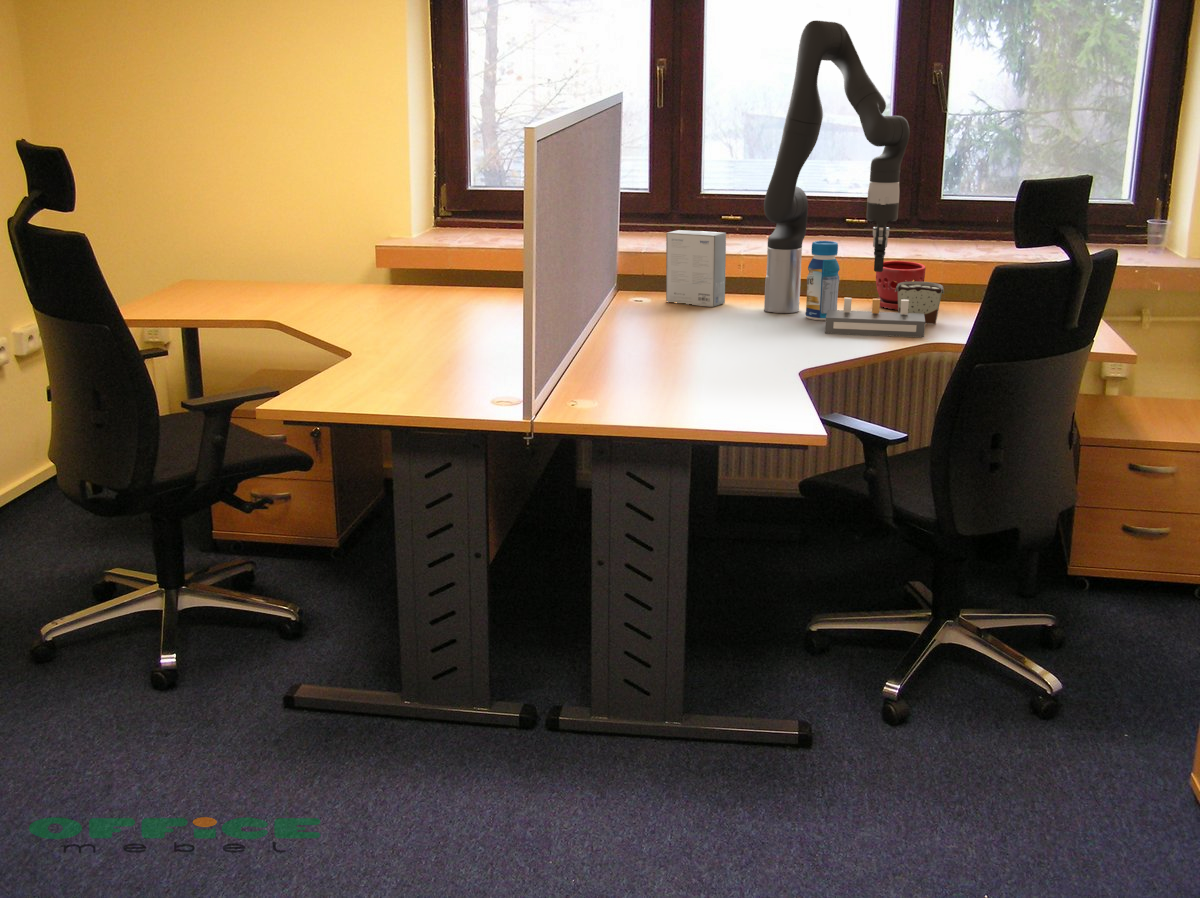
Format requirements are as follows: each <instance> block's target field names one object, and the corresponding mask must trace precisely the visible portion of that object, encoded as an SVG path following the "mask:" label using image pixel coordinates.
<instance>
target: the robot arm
mask: <svg viewBox="0 0 1200 898" xmlns="http://www.w3.org/2000/svg"><path fill="white" fill-rule="evenodd" d="M822 61H831V62H832V63H833V64H834V65H835V66H836V67H837V69H838V70H840V72H841V74H842V77H843V78H842V79H843V87H844V88H843V89H844V93H845V96H846V98H847V101H849V104H850V105H851V106H852V107H853V109H854V111H855V112H856V114H857V115H858V118H859V121H860V124H861V128H862V131H863V133H864V137H865V138H866V140H867V142H869V143H870V144H871V145H872V146H875V147H878V148H879V147H883V150H882V153H881V154H880V155H879V156H876V157H874V158H872V160H871V163H870V169H869V170H870V171H869V172H870V174H869V184H868V189H867V198H866V199H867V201H866V202H867V203H866V216H865V217H866V220H867V221H870V222H875V223H876V226H872V236H873V240H872V247H873V248H874V249H873V250H874V252H873V256H874V263H873V264H874V265H873V271H874V272H875V273H876V272H882V271H883V262H885V261H884V259H885V256H886V248H887V247H888V240H889V239H888V238H889V237H890V227H887V223H888V222H896V221H898V218H899V206H900V176H901V174H900V173H901V164H902V161H903V158H904V156H905V153H906V149H907V146H908V143H909V139H910V135H911V134H910V133H911V131H910V126H909V121H908V120H907V119H906V118H905V117H904V116H902V115H883V113H884V112H885V110H886V108H887V103H886V99H885V98H884V96H883V95H882V94H881V92H880V90H879V89H878V88H877V86H876V85H875V83H874V82H873V81H872V79H871V78H870V76H869V74H868V73H867V71H866V69H865V67H864V65H863V63H862V60H861V59H860V56H859V53H858V52H857V49H856V48H855V45H854V43H853V41H852V38H851V36H850V33H849V32H848V31H847V29H846V28H845V26H844V25H842V23H839V22H835V21H826V20H825V21H824V20H811V21H809V22H808V23H807V24H806V25H805V26H804V29H803V30H802V33H801V35H800V39H799V43H798V50H797V58H796V66H795V73H794V75H795V76H794V79H793V85H792V90H791V95H790V99H789V103H788V104H789V105H788V109H787V112H786V117H785V121H784V124H783V131H782V135H781V140H780V144H779V148H778V153H777V157H776V160H775V165H774V168H773V172H772V175H771V178H770V180H769V181H770V182H769V184H768V187H767V190H766V194H765V196H764V201H763V211H764V214H765V217H766V218H767V220H769V221H770V222H771V223H774V224H776V226H775V227H774V230H773V232H772V233H771V234H770V235H769V236H768V238H767V251H766V252H767V254H766V255H767V257H766V276H765V280H764V281H765V283H764V301H763V302H764V304H763V305H764V307H763V309H764V310H763V312H770V313H775V314H776V313H777V314H792V313H797V312H799V310H800V297H801V296H800V295H801V280H802V279H801V276H802V257H803V256H802V254H803V253H802V252H803V241H804V240H805V237H806V233H807V224H808V223H807V222H808V211H809V204H808V203H809V202H808V197H807V195H806V193H805V191H804V190H803V189H802V188H800V187H799V186H797V182H798V178H799V175H800V173H801V170H802V169H803V167H804V166H805V163H806V162H807V160H808V159H809V157H810V155H811V153H812V152H813V150H814V148H815V146H816V144H817V141H818V140H819V135H820V132H821V127H822V125H823V124H822V122H823V118H824V112H823V109H824V108H823V103H822V101H821V97H820V93H819V88H818V87H819V86H818V81H819V79H818V78H819V72H820V68H821V63H822Z"/></svg>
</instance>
